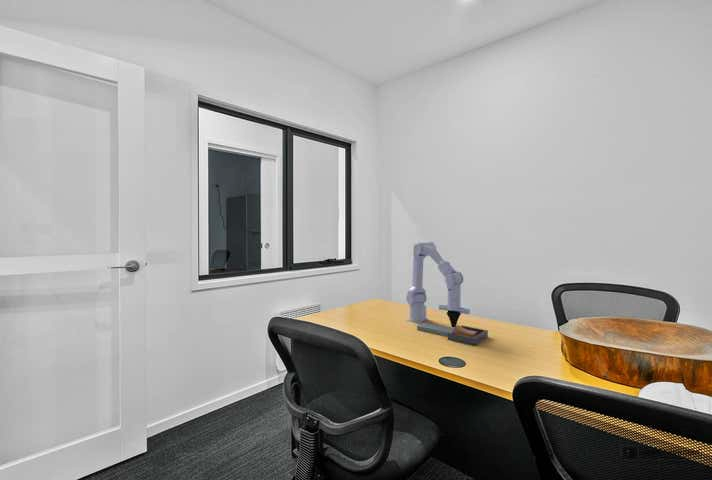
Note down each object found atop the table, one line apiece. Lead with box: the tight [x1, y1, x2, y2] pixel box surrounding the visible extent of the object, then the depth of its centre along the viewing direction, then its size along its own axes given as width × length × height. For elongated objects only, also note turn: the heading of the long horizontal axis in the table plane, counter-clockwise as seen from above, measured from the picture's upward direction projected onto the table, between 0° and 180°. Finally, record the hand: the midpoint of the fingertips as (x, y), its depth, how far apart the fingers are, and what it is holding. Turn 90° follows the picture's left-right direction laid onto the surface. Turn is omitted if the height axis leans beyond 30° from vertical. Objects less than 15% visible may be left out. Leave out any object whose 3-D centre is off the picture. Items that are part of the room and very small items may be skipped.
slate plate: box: [416, 321, 455, 338], centre depth 160 cm, size 8×18×2 cm, turn 49°
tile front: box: [463, 330, 477, 338], centre depth 149 cm, size 4×4×2 cm
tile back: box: [453, 324, 467, 335], centre depth 152 cm, size 4×4×2 cm
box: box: [447, 325, 489, 346], centre depth 150 cm, size 15×12×3 cm
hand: (453, 326), depth 154 cm, fingers closed
